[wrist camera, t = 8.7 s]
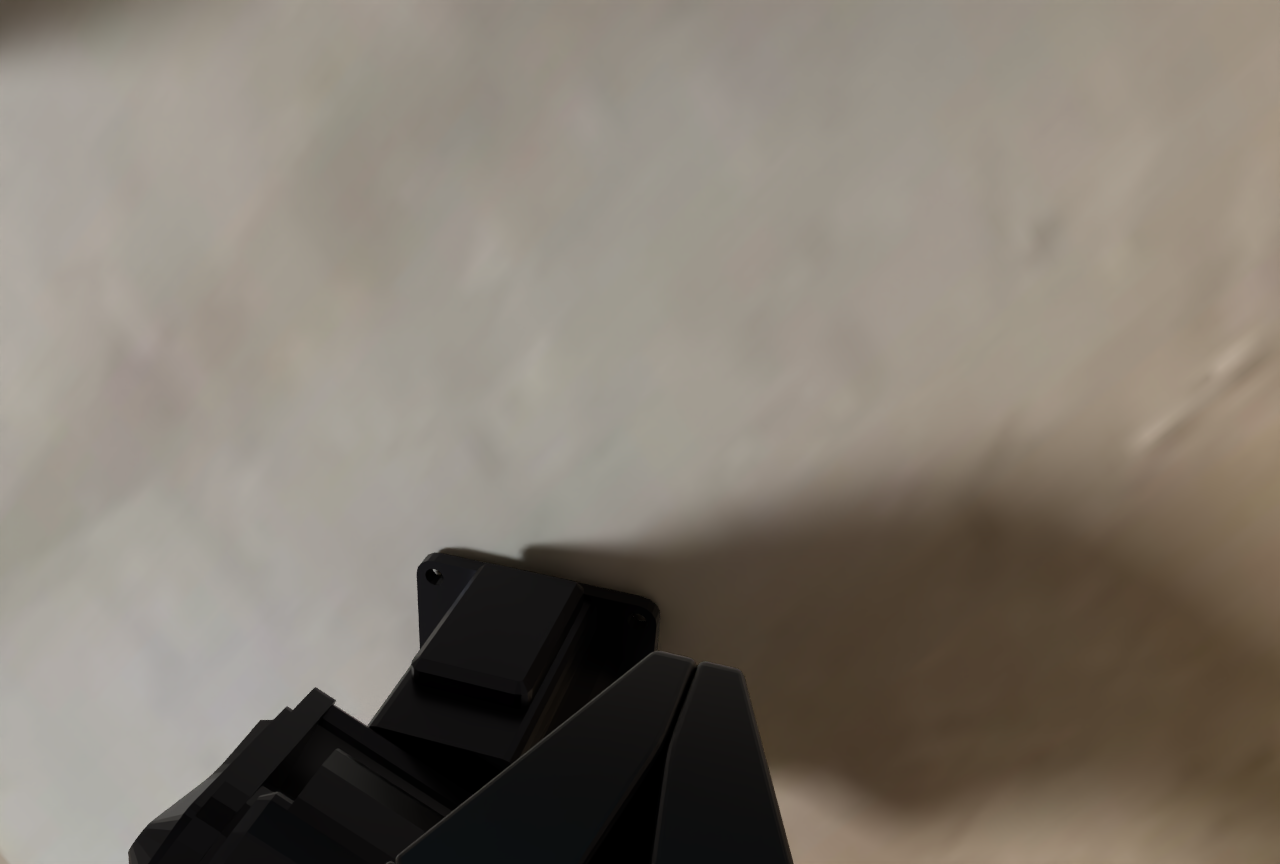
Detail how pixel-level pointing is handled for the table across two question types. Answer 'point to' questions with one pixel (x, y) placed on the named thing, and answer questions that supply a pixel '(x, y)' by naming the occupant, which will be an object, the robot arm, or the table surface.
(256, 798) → the robot arm
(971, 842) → the table surface
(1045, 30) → the table surface
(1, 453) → the table surface
